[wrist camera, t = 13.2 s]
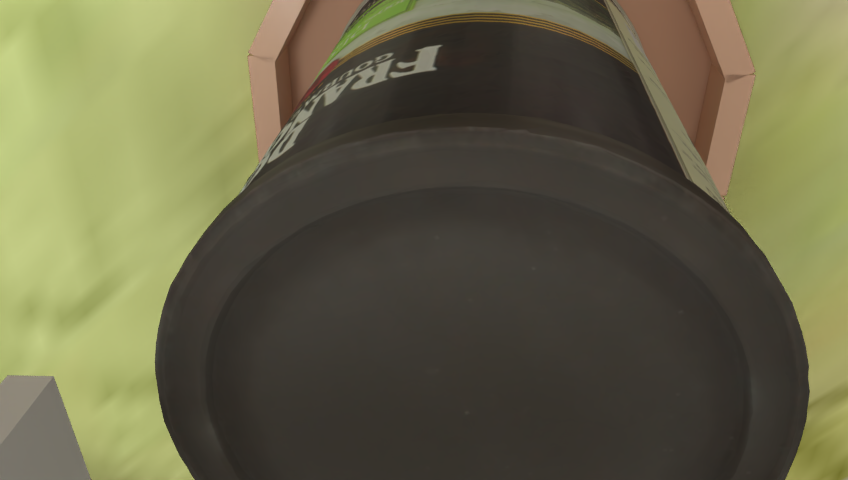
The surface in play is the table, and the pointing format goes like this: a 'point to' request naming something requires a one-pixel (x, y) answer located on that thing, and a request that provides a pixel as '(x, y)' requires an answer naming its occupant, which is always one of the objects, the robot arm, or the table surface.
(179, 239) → the table surface
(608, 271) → the coffee can
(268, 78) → the saucer
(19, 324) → the table surface
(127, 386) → the table surface
